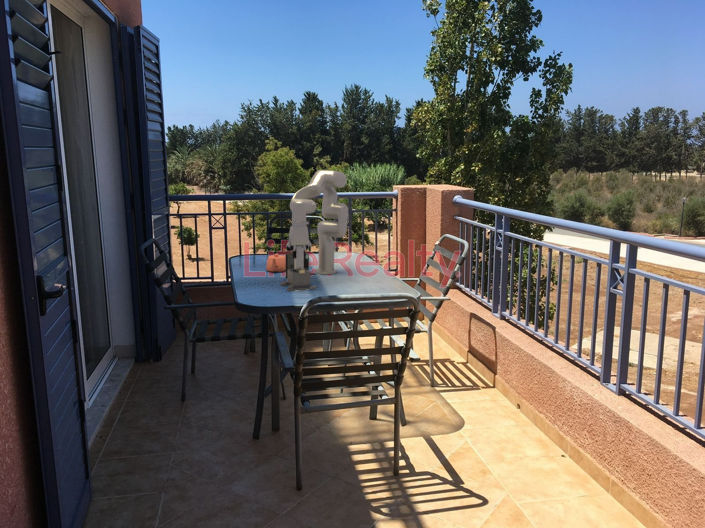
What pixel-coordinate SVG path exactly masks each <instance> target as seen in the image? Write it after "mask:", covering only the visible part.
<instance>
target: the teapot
mask: <svg viewBox="0 0 705 528" xmlns="http://www.w3.org/2000/svg"><path fill="white" fill-rule="evenodd" d="M265 267H266V271H267V272H271V273H273V272H278V273H282V272H286V255H280V254H279V253H274V254H272V255H269V256H268V257H267V259H266V266H265Z"/></svg>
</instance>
